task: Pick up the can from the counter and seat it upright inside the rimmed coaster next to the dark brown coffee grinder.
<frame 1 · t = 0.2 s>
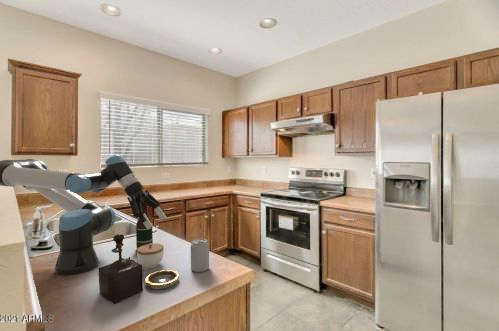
hand: (157, 222, 121), 16 cm above the counter, tool tilted 35°, fingers open, 13 cm apart
lidded jar: (150, 265, 112), on the counter
beer bottle: (144, 249, 132), on the counter
coaster: (162, 282, 97), on the counter
can: (200, 269, 108), on the counter
dark brown coffee grinder: (118, 290, 92), on the counter
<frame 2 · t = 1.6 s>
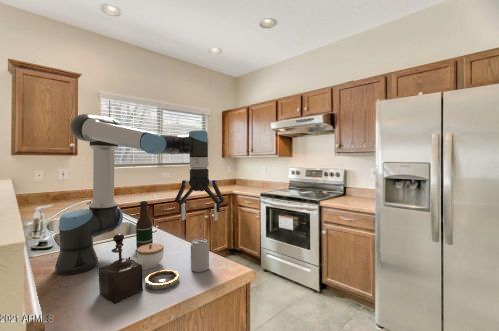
hand: (199, 219, 108), 21 cm above the counter, tool pointing down, fingers open, 13 cm apart
nothing on the counter moved.
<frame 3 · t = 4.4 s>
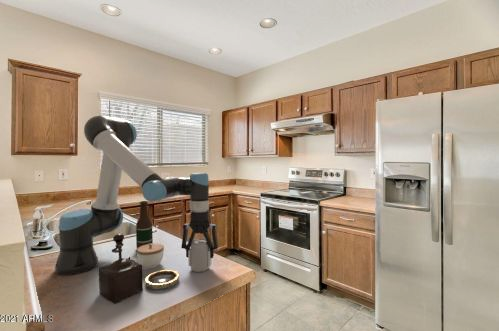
hand: (200, 265, 108), 2 cm above the counter, tool pointing down, fingers closed on can, 7 cm apart
can: (200, 269, 108), on the counter, touching gripper
everything else where it was.
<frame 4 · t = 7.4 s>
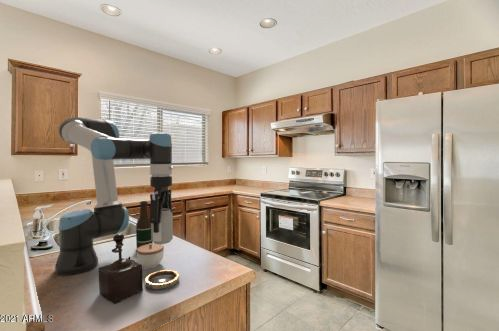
hand: (162, 237, 97), 17 cm above the counter, tool pointing down, fingers closed on can, 7 cm apart
can: (162, 242, 97), point 15 cm above the counter, touching gripper
everything else where it was.
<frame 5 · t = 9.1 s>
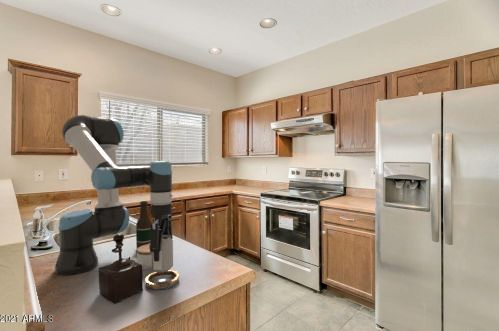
hand: (162, 264, 97), 7 cm above the counter, tool pointing down, fingers closed on can, 7 cm apart
can: (162, 269, 97), point 5 cm above the counter, touching gripper
everything else where it was.
when the fingers open (4 cm above the counter, at t = 10.5 s): can drops 1 cm, resting on coaster.
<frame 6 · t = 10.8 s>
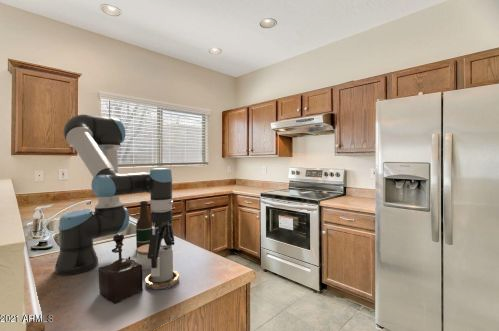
hand: (162, 268, 97), 5 cm above the counter, tool pointing down, fingers open, 11 cm apart
can: (162, 279, 97), point 1 cm above the counter, touching coaster
everything else where it was.
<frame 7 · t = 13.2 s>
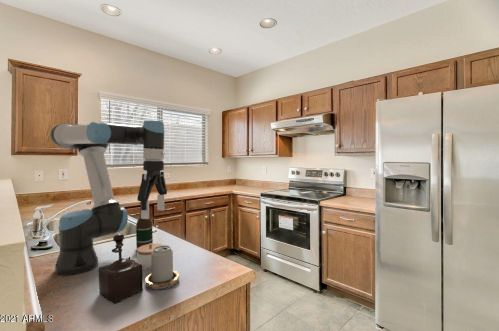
hand: (153, 214, 103), 24 cm above the counter, tool pointing down, fingers open, 13 cm apart
nothing on the counter moved.
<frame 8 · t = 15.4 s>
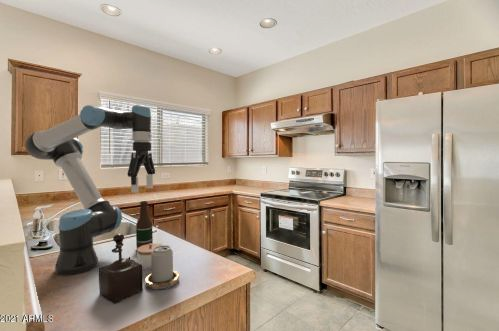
hand: (142, 190, 115), 32 cm above the counter, tool pointing down, fingers open, 13 cm apart
nothing on the counter moved.
at the end: can 0.0 cm off-centre on the coaster, point 0.8 cm above the coaster's base; can tilted 0°; the gripper is holding nothing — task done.
